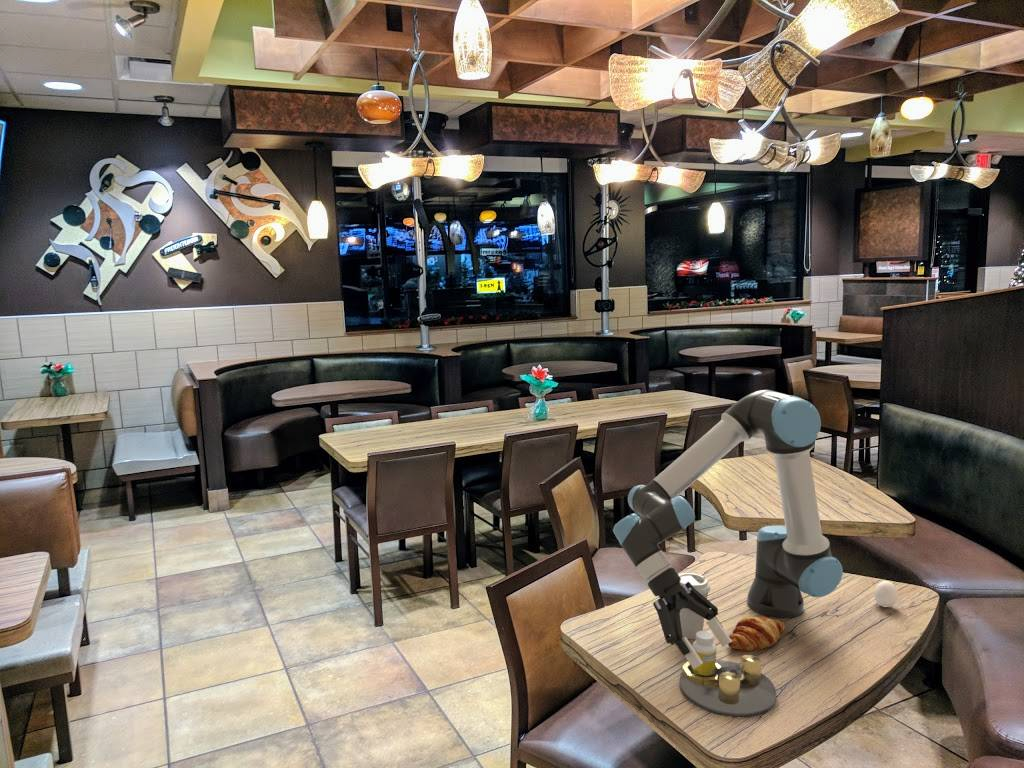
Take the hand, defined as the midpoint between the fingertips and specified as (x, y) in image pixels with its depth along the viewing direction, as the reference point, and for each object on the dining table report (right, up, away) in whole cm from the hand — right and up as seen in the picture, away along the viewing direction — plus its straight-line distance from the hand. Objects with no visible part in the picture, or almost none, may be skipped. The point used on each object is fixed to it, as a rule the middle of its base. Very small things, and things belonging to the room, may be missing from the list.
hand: (713, 655), depth 171 cm
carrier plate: (+3, -8, -1) cm, 8 cm away
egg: (+60, -1, +41) cm, 73 cm away
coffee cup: (+1, -4, +25) cm, 26 cm away
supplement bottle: (-2, -6, +3) cm, 6 cm away
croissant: (+17, -5, +21) cm, 28 cm away
